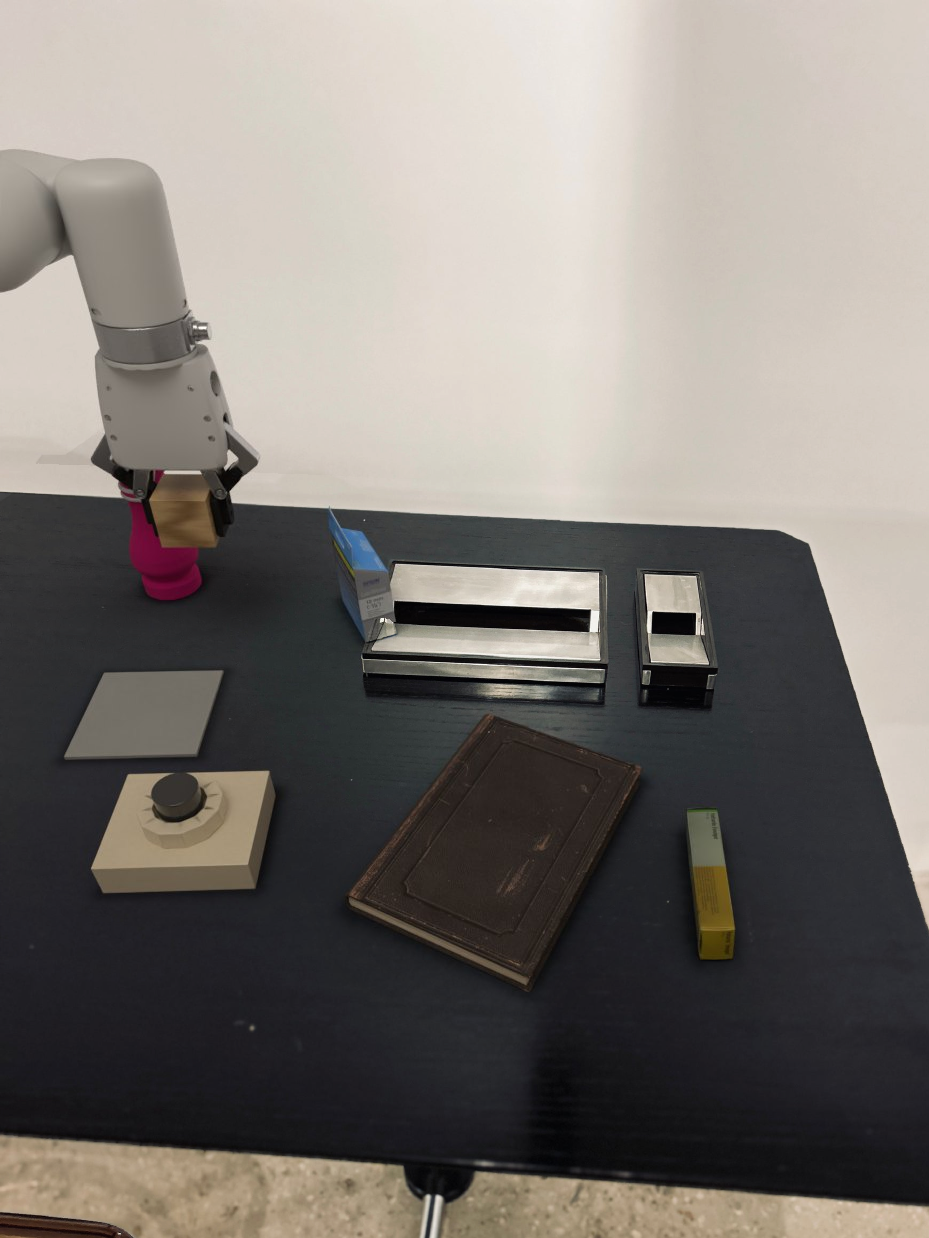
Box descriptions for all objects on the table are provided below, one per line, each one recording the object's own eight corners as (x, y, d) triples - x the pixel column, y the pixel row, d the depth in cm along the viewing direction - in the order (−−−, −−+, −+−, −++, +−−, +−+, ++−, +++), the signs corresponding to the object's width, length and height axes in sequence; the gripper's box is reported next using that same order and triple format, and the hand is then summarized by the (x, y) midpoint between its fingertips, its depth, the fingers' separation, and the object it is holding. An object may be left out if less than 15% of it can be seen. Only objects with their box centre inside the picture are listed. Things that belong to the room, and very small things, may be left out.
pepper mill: (128, 598, 99) (71, 432, 86) (162, 564, 104) (113, 402, 91) (186, 608, 98) (137, 441, 85) (217, 573, 103) (176, 410, 90)
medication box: (683, 837, 74) (685, 805, 72) (716, 836, 74) (718, 804, 72) (697, 960, 65) (700, 929, 63) (734, 960, 65) (738, 929, 62)
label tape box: (398, 635, 95) (389, 538, 87) (362, 645, 93) (349, 547, 85) (373, 593, 101) (361, 497, 92) (338, 601, 99) (324, 505, 91)
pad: (65, 759, 80) (63, 756, 80) (105, 675, 89) (104, 672, 89) (197, 756, 81) (196, 753, 80) (224, 673, 90) (223, 670, 89)
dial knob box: (103, 893, 69) (83, 854, 66) (138, 798, 77) (121, 759, 74) (255, 889, 70) (243, 849, 67) (275, 795, 77) (265, 755, 74)
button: (152, 823, 69) (145, 806, 68) (164, 789, 72) (157, 772, 70) (198, 822, 69) (192, 805, 68) (208, 788, 72) (202, 771, 70)
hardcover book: (639, 784, 79) (642, 766, 77) (529, 993, 63) (529, 976, 62) (483, 728, 84) (483, 711, 83) (346, 909, 69) (342, 891, 67)
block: (161, 547, 82) (148, 500, 78) (174, 520, 86) (162, 473, 82) (216, 547, 82) (205, 500, 79) (226, 520, 86) (216, 474, 82)
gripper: (259, 322, 75) (289, 510, 87) (55, 318, 74) (114, 509, 86) (243, 355, 69) (278, 551, 81) (22, 351, 68) (90, 550, 80)
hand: (193, 527), depth 83 cm, fingers closed on block, 5 cm apart
